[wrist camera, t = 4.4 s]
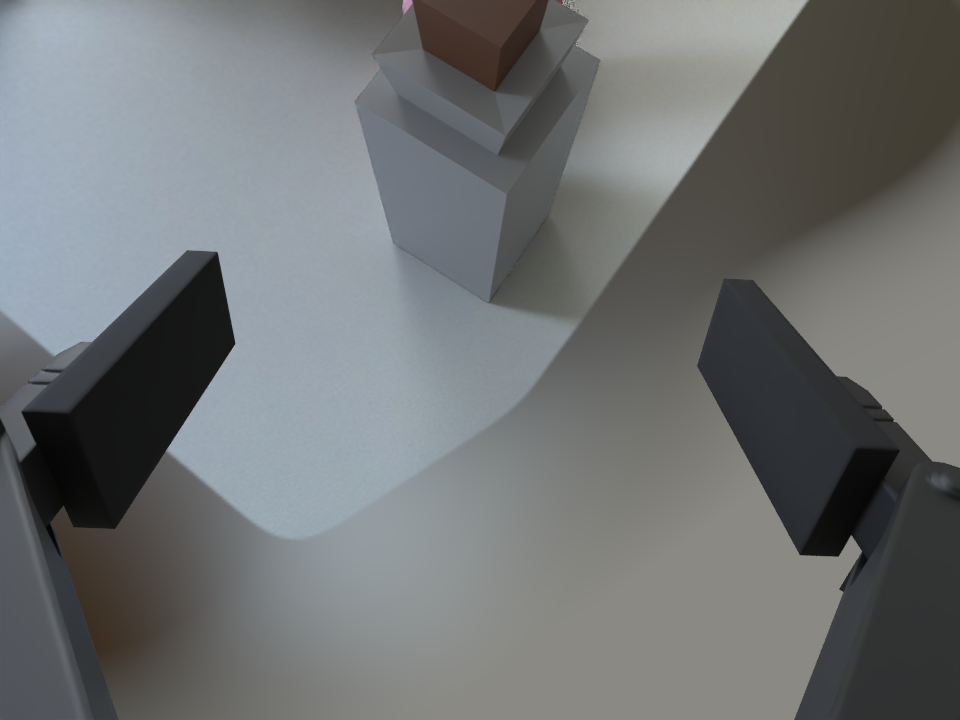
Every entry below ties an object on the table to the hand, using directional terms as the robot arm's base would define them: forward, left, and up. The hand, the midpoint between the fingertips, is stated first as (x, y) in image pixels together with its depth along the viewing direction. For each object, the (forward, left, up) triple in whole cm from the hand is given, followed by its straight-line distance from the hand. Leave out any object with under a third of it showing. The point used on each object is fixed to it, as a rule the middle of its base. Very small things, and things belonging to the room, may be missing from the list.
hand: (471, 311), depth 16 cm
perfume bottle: (0, -10, -18) cm, 21 cm away
